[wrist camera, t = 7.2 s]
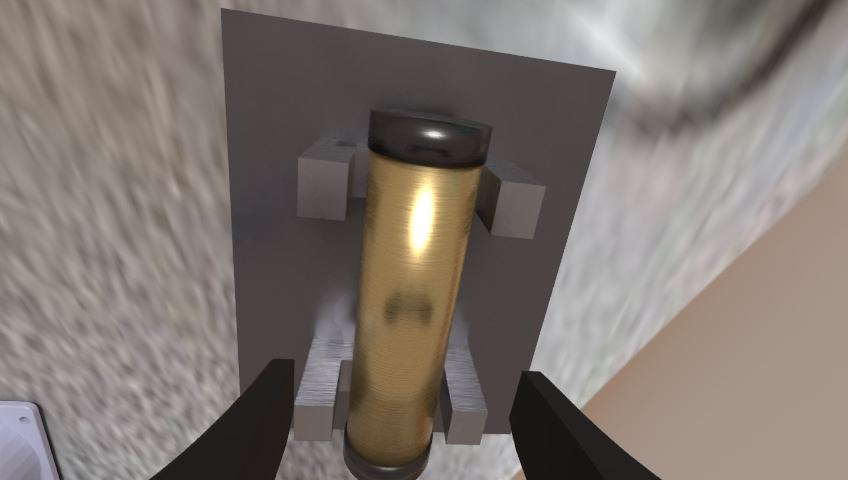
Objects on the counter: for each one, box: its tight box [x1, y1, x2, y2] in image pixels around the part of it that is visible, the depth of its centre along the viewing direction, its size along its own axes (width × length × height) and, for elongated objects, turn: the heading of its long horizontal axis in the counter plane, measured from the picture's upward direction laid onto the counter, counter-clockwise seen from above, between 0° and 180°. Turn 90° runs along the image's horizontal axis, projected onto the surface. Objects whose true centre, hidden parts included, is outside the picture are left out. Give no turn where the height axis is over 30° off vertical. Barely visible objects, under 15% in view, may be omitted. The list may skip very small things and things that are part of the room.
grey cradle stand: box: [221, 8, 616, 445], centre depth 18 cm, size 21×16×6 cm
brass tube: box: [343, 108, 493, 480], centre depth 16 cm, size 16×4×4 cm, turn 172°
